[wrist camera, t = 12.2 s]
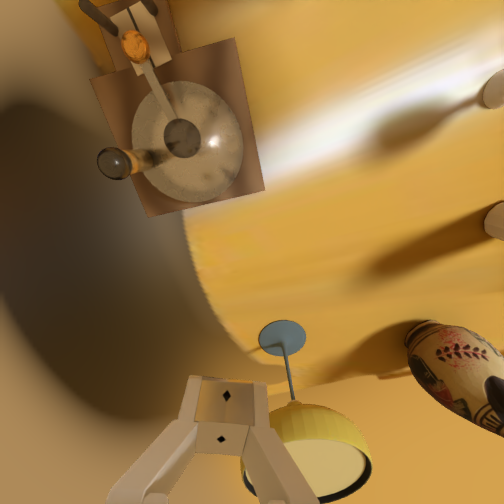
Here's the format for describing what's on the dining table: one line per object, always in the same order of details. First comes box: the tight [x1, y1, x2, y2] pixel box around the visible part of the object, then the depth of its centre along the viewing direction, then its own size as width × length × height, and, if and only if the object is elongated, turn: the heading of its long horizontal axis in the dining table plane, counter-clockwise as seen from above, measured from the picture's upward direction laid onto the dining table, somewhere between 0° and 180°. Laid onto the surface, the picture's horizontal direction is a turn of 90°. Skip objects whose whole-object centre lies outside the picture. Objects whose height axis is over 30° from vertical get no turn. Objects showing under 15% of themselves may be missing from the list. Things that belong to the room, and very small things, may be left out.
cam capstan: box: [97, 30, 243, 202], centre depth 29 cm, size 17×22×11 cm
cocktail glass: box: [240, 320, 373, 504], centre depth 43 cm, size 18×18×25 cm
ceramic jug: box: [404, 320, 504, 438], centre depth 41 cm, size 17×15×30 cm
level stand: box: [79, 0, 265, 217], centre depth 32 cm, size 20×26×8 cm
